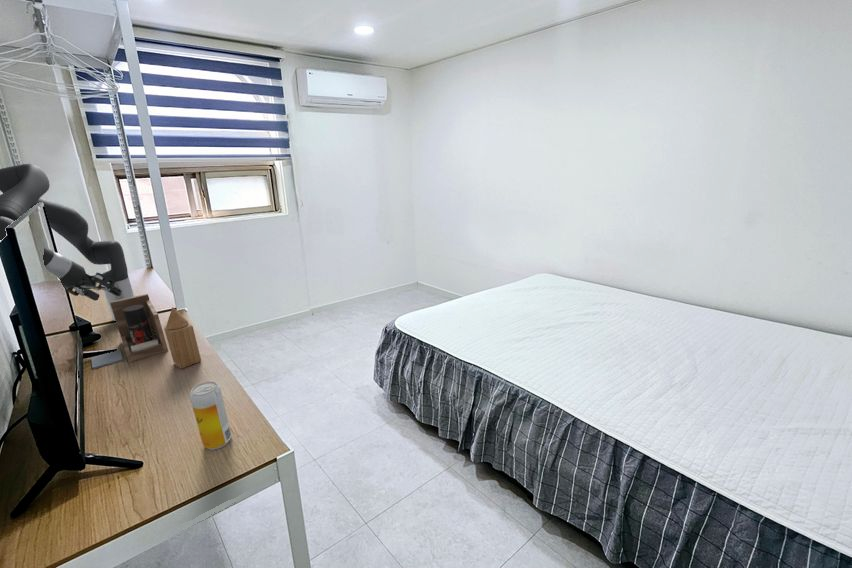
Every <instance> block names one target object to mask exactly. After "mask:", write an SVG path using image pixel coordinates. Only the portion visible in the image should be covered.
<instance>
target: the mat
mask: <svg viewBox="0 0 852 568" xmlns="http://www.w3.org/2000/svg"><path fill="white" fill-rule="evenodd" d="M122 355H123V354H122V351H121V349H118V350H114V352H113V351H110V353H109V352H107V353H103V354H99V355H95V356H92V357H90V360H91V368H92V370H95V369H98V368H101V367H102V368H103V367H106V366H109V365H112V364H116V363H118V362H122V361H124V359H123V356H122Z"/></svg>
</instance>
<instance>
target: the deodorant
mask: <svg viewBox="0 0 852 568" xmlns="http://www.w3.org/2000/svg"><path fill="white" fill-rule="evenodd" d="M123 313H124V316H125V319H126V322H127V325H128V329H129V332H130V335H131V338H132V341H131V342H132V344H133V345H137V344H141V343H145V342H148V341H152V340H154V337H153V335H152V333H151V330H150V326H149V323H148V319H147V316H146V313H145V309H144V306H143V305H133V306H129V307H126V308H124V309H123Z"/></svg>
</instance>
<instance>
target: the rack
mask: <svg viewBox="0 0 852 568" xmlns="http://www.w3.org/2000/svg"><path fill="white" fill-rule="evenodd" d="M110 305H111V308H112V311H113V314H114V317H115V320H116V322H115V323H116V327H117V329H118V332H119V334H120V335H119V336H120V338H121V342H122V345H123V349H124V352H125V354H126V355H125V356H126V358H127V361H128V363H131V362H135V361H137V360H141V359H145V358H148V357H151V356H154V355H155V356H156V355H158V354H162V353H165V352H168V351H169V349H168V345H167V344H168V343H167V341H166V336H165V334H164V331H163V327H162V323H161V320H160V317H159V313H158V312H157V310H156V309H155V306H154V305H153V303H152V302H151V300H150V296H149V294H148V293H145V294H140V295H134V297H130V298H125V299H120V300H116V301H111V302H110ZM133 305H143V306H144V309H145V313H146V316H147V319H148V323H149V326H150V330H151V333H152V336H156V339H157V340H158V343H159V344H160V345H156V346H153V347H149V348H146V349H142V350H139V351H135V352H132V351H131V349H130V348H129V342H133V341H132V338H131V335H130V332H129V329H128V325H127V322H126V319H125V316H124V313H123V309H124V308H126V307H129V306H133Z"/></svg>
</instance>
